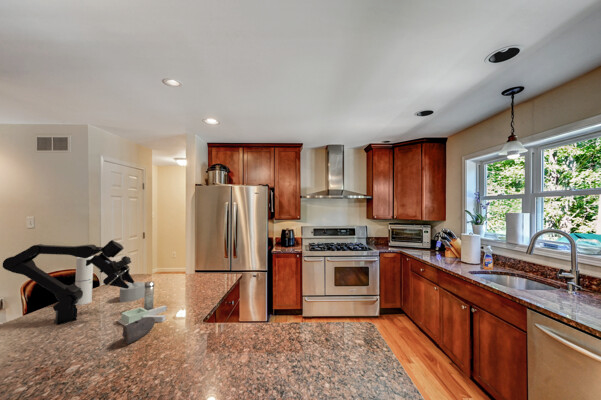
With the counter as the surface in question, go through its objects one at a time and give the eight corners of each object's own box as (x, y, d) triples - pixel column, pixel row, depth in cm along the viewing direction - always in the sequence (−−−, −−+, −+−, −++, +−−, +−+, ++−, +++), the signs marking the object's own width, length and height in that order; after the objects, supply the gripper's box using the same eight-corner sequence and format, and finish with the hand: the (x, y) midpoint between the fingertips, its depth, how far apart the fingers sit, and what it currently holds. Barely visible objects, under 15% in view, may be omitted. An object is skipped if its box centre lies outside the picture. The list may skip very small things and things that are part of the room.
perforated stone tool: (149, 327, 104) (150, 311, 104) (159, 328, 103) (160, 312, 103) (116, 346, 89) (116, 327, 90) (127, 348, 88) (128, 328, 89)
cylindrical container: (70, 304, 131) (73, 257, 132) (86, 299, 138) (88, 255, 139) (80, 305, 129) (82, 258, 130) (94, 301, 136) (96, 256, 137)
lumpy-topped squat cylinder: (149, 295, 144) (149, 281, 145) (127, 303, 132) (127, 287, 133) (136, 293, 148) (137, 279, 148) (114, 301, 135) (114, 285, 136)
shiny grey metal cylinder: (146, 312, 120) (147, 284, 120) (142, 310, 122) (143, 282, 123) (155, 309, 123) (155, 282, 124) (151, 308, 125) (151, 280, 126)
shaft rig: (135, 332, 100) (135, 322, 100) (117, 321, 110) (118, 313, 110) (179, 315, 116) (179, 307, 116) (160, 307, 125) (161, 300, 126)
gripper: (112, 255, 111) (140, 277, 114) (125, 249, 128) (148, 268, 131) (90, 274, 107) (119, 296, 111) (106, 265, 125) (131, 284, 128)
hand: (131, 285), depth 120 cm, fingers open, 9 cm apart
